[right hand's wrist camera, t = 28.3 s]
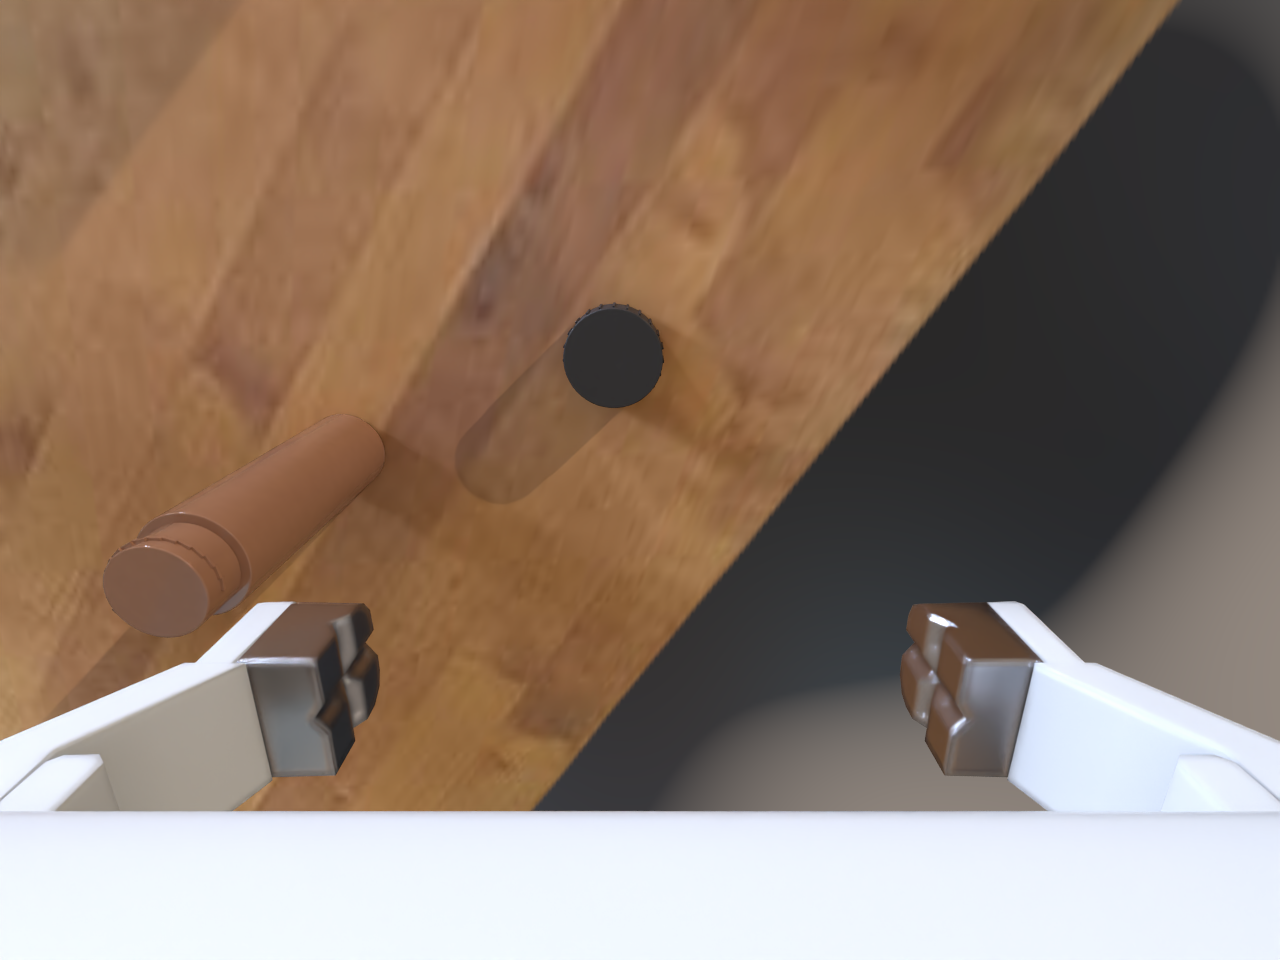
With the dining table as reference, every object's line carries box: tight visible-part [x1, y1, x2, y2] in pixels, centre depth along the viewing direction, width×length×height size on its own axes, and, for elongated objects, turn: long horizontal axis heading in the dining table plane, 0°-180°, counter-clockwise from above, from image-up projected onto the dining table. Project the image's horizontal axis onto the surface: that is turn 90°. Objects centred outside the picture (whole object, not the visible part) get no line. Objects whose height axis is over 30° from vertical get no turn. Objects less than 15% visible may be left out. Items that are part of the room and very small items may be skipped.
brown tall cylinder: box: [103, 414, 385, 638], centre depth 30 cm, size 4×4×16 cm
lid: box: [563, 302, 664, 408], centre depth 34 cm, size 5×5×2 cm
